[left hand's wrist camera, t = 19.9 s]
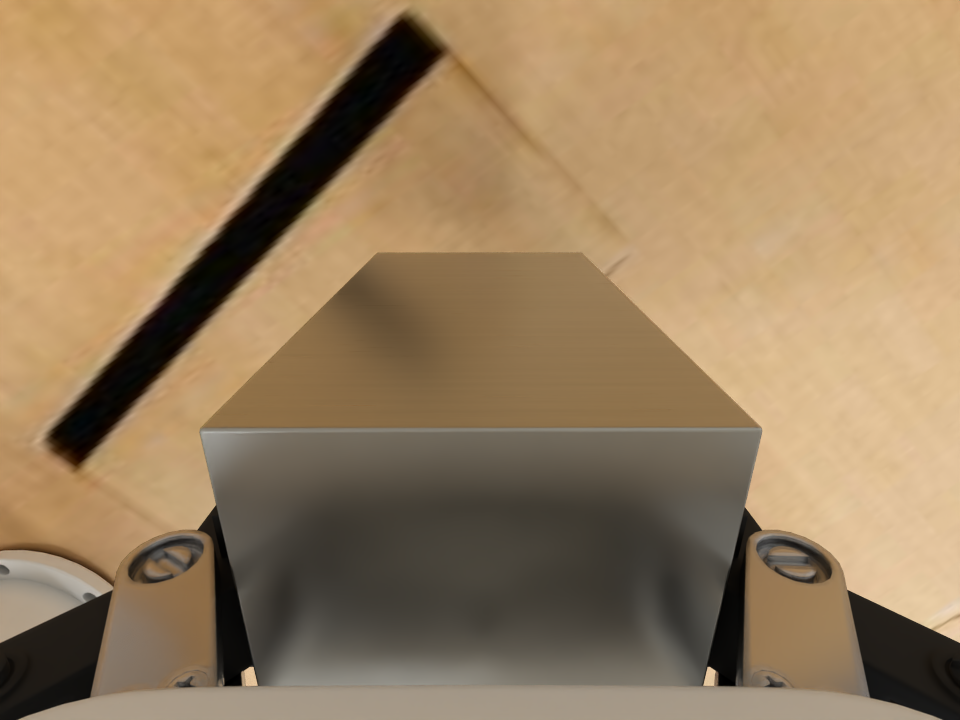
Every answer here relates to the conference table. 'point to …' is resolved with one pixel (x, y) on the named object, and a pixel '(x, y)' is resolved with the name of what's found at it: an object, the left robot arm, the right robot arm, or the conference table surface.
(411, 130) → the conference table surface
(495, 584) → the block
